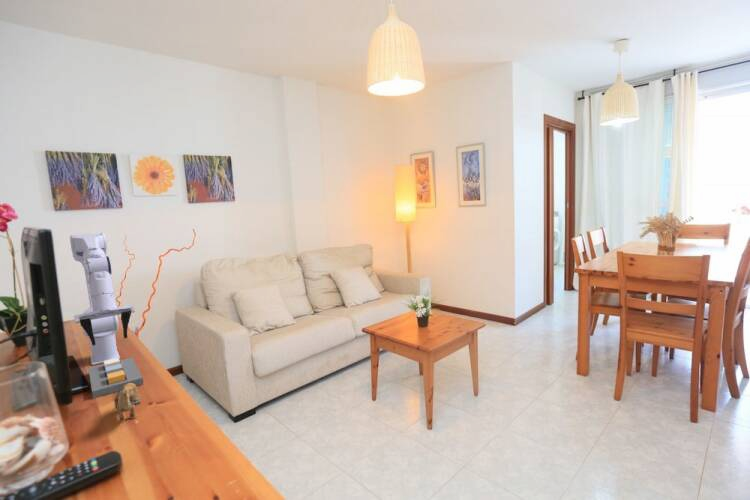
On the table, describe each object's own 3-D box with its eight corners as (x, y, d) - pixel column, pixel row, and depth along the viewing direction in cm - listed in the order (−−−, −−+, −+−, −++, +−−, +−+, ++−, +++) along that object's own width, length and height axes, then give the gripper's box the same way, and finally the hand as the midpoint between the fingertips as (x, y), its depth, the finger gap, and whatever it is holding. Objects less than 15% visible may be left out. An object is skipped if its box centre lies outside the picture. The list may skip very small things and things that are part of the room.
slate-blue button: (106, 375, 118) (105, 367, 118) (121, 371, 121) (120, 363, 120) (107, 379, 115) (106, 371, 115) (123, 375, 118) (122, 367, 117)
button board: (89, 373, 123) (88, 367, 122) (133, 363, 130) (132, 357, 130) (93, 398, 106) (92, 391, 106) (143, 384, 114) (142, 377, 113)
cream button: (104, 368, 123) (103, 361, 123) (119, 364, 126) (118, 357, 125) (105, 372, 120) (104, 364, 120) (120, 368, 123) (119, 361, 122)
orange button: (108, 382, 113) (107, 374, 113) (124, 378, 116) (123, 370, 115) (109, 387, 110) (108, 378, 110) (125, 382, 113) (124, 374, 112)
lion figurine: (143, 423, 93) (139, 387, 92) (117, 431, 90) (112, 394, 89) (140, 398, 105) (136, 367, 104) (117, 405, 102) (112, 372, 101)
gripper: (71, 298, 107) (78, 346, 105) (132, 288, 116) (140, 333, 114) (72, 303, 113) (79, 349, 110) (130, 294, 121) (138, 336, 119)
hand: (110, 341), depth 112 cm, fingers open, 7 cm apart
